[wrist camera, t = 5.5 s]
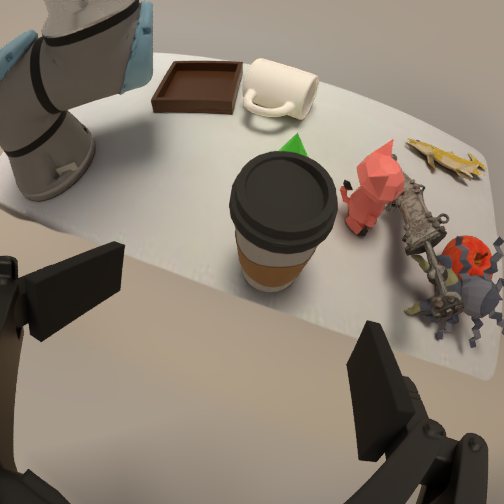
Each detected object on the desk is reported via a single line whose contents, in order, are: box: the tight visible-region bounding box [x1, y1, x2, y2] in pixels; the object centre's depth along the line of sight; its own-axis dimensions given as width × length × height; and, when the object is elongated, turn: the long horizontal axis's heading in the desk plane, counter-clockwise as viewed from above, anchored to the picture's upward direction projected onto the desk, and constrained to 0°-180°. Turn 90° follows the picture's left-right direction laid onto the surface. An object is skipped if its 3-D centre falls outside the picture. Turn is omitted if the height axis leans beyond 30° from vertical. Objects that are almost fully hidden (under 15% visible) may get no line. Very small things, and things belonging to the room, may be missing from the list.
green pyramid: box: [279, 133, 308, 157], centre depth 39 cm, size 6×6×6 cm
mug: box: [243, 58, 319, 120], centre depth 43 cm, size 12×10×8 cm
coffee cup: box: [229, 151, 338, 292], centre depth 28 cm, size 8×8×15 cm
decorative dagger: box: [385, 154, 464, 319], centre depth 32 cm, size 7×2×30 cm
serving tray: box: [151, 61, 243, 114], centre depth 47 cm, size 14×14×3 cm
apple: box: [440, 236, 493, 280], centre depth 31 cm, size 8×8×8 cm
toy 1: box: [408, 138, 486, 181], centre depth 44 cm, size 20×3×10 cm
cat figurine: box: [340, 140, 405, 236], centre depth 33 cm, size 7×7×12 cm
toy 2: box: [404, 236, 504, 348], centre depth 27 cm, size 15×4×15 cm
